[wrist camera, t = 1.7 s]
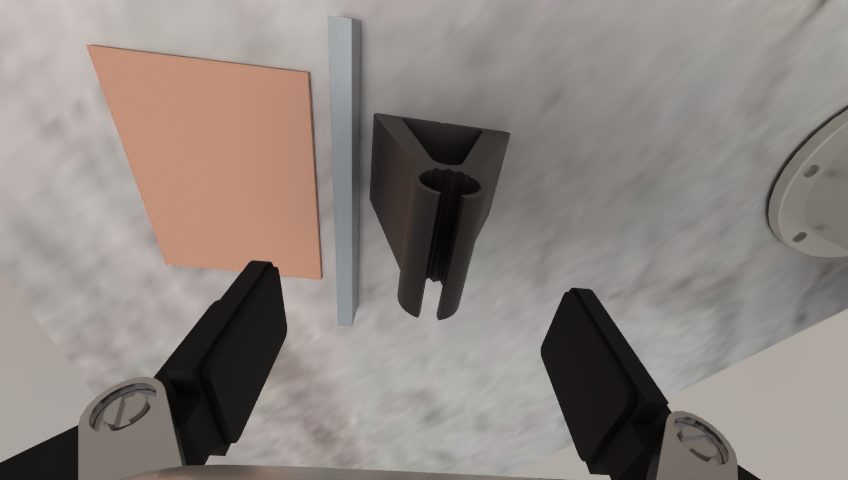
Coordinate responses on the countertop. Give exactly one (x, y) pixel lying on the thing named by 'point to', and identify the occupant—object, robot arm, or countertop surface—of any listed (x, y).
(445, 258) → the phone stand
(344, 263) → the acrylic wall
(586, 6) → the countertop surface
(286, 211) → the mat
